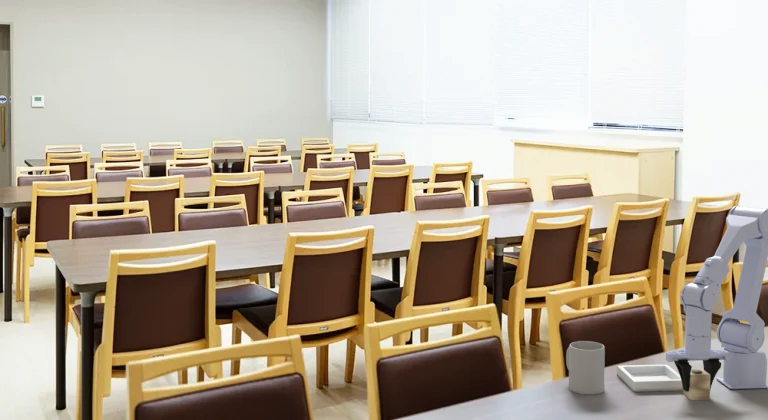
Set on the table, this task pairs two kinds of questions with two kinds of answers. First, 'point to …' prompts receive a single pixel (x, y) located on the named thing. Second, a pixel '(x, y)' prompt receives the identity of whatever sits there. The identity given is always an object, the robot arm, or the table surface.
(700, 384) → the bore block
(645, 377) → the tray
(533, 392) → the table surface
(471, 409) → the table surface
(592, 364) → the mug
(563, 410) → the table surface
